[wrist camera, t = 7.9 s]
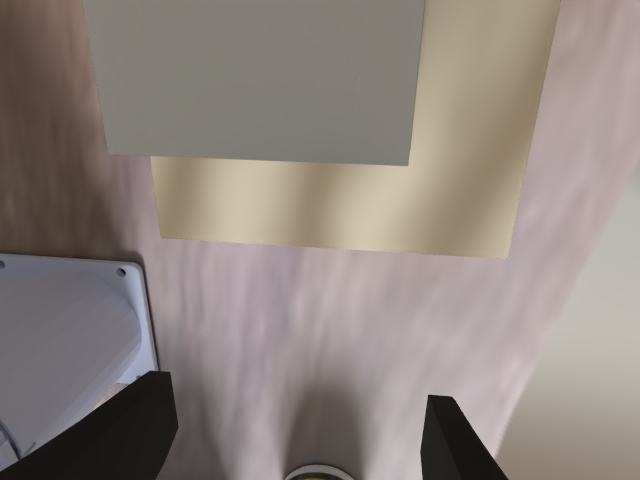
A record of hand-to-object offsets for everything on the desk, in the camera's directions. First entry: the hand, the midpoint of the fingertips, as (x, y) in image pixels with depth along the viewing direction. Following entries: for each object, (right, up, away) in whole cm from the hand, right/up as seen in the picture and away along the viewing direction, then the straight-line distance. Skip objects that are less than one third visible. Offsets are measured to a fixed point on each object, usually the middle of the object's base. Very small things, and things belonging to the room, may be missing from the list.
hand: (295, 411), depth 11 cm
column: (+1, +11, +1) cm, 11 cm away
